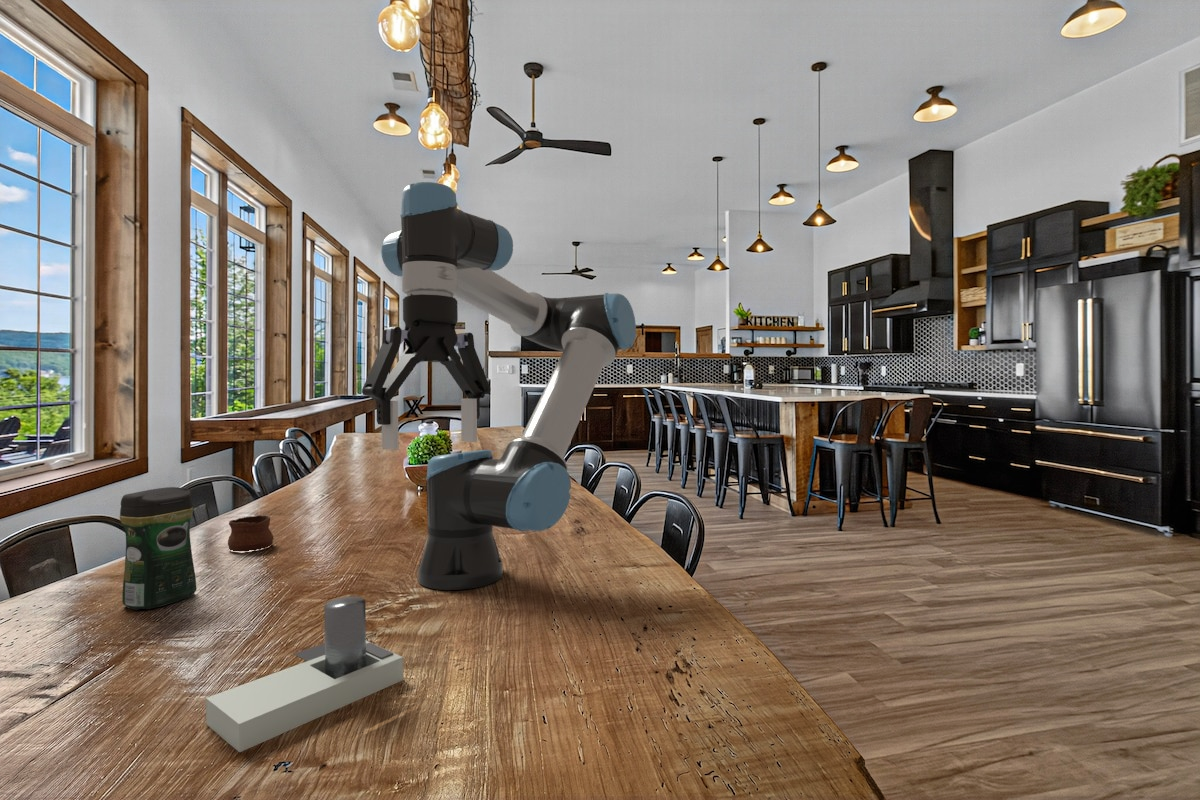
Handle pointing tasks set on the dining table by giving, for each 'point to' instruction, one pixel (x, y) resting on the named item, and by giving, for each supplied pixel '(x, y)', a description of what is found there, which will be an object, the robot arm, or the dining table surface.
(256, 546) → the ceramic pot
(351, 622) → the barrel peg
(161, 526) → the coffee jar
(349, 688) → the slotted holder block
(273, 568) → the dining table surface
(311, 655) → the mat
